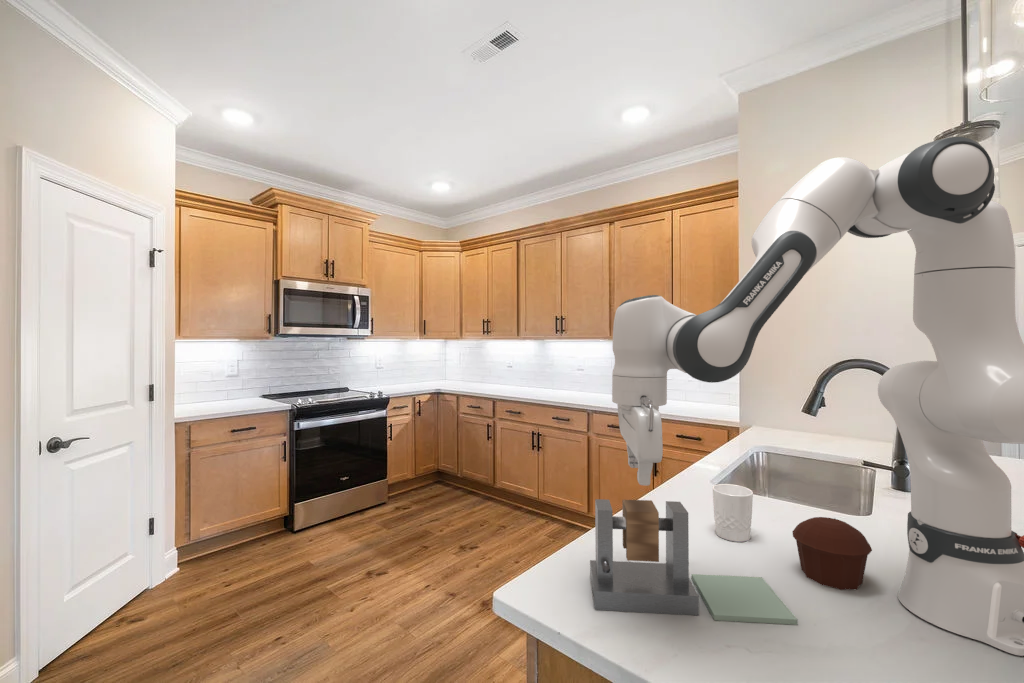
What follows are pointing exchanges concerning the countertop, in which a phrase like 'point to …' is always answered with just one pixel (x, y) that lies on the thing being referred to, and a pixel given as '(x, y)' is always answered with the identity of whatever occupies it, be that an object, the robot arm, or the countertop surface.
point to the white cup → (732, 511)
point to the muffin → (832, 552)
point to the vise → (643, 568)
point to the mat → (742, 599)
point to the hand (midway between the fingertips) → (638, 474)
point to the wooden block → (641, 530)
